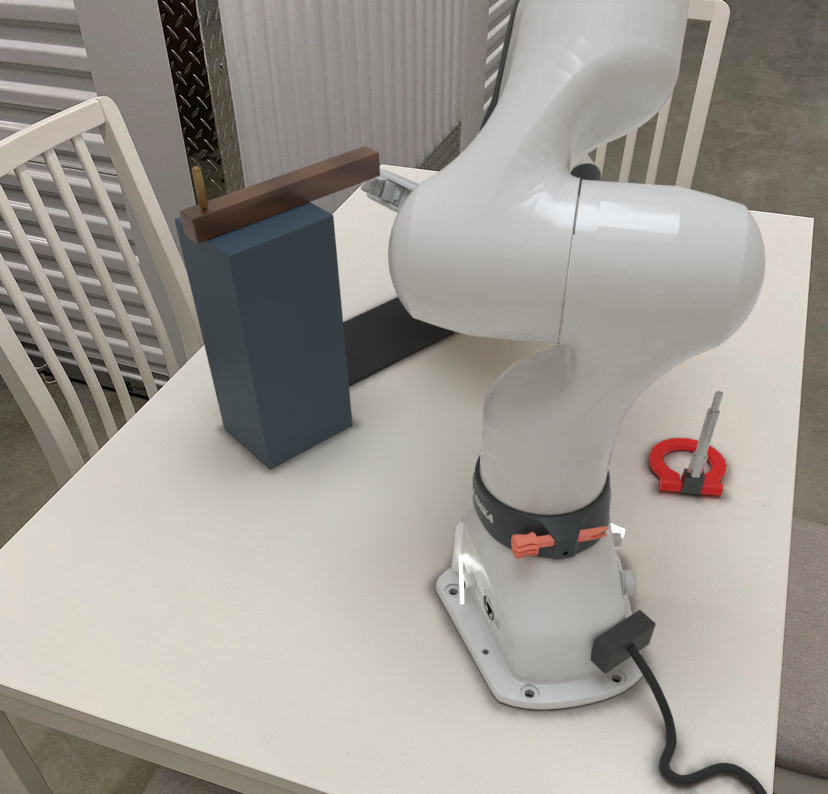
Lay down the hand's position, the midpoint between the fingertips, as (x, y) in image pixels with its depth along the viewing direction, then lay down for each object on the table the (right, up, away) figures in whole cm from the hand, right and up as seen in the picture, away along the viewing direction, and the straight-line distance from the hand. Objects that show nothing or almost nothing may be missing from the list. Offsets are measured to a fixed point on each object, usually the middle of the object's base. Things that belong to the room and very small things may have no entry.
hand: (393, 197), depth 90 cm
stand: (-13, -24, +9) cm, 29 cm away
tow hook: (+33, -30, +3) cm, 45 cm away
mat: (-4, -10, +21) cm, 24 cm away
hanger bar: (-10, -4, -8) cm, 14 cm away
